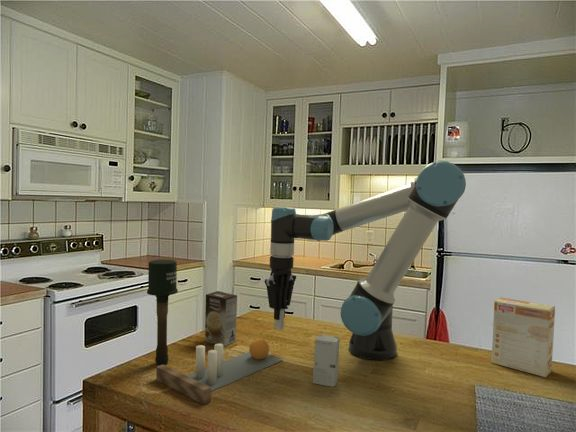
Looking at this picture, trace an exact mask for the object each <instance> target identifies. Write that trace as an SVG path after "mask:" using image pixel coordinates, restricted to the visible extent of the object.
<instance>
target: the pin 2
mask: <svg viewBox="0 0 576 432" xmlns="http://www.w3.org/2000/svg"><path fill="white" fill-rule="evenodd" d="M207 367H208V384H211V385H212V384H216V383H217V351H216V350H214V349H210V350H208V351H207Z"/></svg>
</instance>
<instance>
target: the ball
mask: <svg viewBox="0 0 576 432" xmlns="http://www.w3.org/2000/svg"><path fill="white" fill-rule="evenodd" d="M248 348H249V351H248V352H250V355H251V356H252V357H253V358H254V359H257V360H261V359H264V358H265V357H266V356H267V355H269V352H270V346H269V344H268V342H267V341H266V340H264V339H262V338H257V339H255V340H253V341H252V342H251V343H250V344H249V347H248Z"/></svg>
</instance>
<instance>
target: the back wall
mask: <svg viewBox="0 0 576 432" xmlns="http://www.w3.org/2000/svg"><path fill="white" fill-rule="evenodd" d="M155 369H156V370H155V371H156V372H155V377H156V380H157V381H158V382H160V383H162V384H164V385H166V386H167V387H170V388H171V389H174V390H175V391H178V393H180V394H183V395H184V396H186V397H188V398H191V399H193V400H194V401H196V402H198V403H200V404H202V405H203V406H204V405H207V404H209V403H211V399H212V397H211V396H212V395H211V393H212V391H211V387H209V386H206V385H204V384H202V383H200V382H198V381H196V380H194V379H192V378H190V377H188V376H186V375H187V374H186V375H185V374H183V373H181V372H179V371H177V370H175V369H174V368H171V367H169V366H167V365H157V366H156V368H155Z"/></svg>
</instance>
